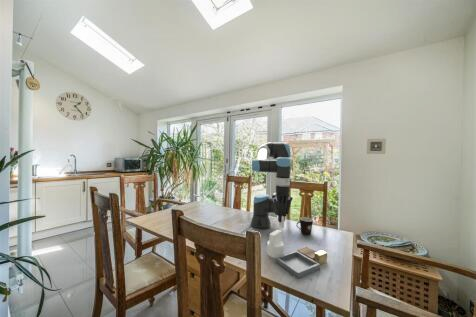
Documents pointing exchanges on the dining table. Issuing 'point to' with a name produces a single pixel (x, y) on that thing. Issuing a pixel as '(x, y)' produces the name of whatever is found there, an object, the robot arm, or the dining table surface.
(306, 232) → the coffee mug
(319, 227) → the dining table surface
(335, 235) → the dining table surface
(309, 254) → the tan rounded-edge slab
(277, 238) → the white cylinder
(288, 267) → the tray
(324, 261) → the block
